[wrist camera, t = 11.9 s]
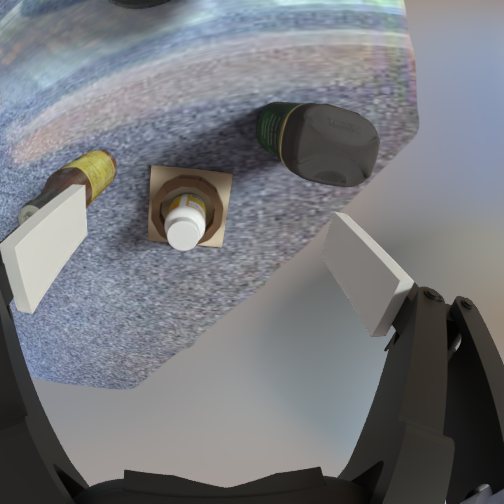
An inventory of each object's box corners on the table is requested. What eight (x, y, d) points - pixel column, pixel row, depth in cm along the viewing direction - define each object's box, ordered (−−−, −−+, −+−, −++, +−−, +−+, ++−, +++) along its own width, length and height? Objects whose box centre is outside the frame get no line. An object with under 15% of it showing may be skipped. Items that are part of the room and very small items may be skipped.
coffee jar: (252, 149, 40) (281, 183, 24) (261, 98, 37) (298, 93, 21) (313, 160, 42) (374, 199, 26) (323, 111, 38) (394, 122, 22)
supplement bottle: (173, 226, 43) (164, 258, 35) (168, 193, 41) (157, 218, 32) (207, 223, 44) (207, 254, 36) (204, 189, 41) (202, 213, 33)
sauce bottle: (94, 140, 36) (20, 174, 18) (126, 161, 38) (68, 209, 21) (75, 176, 38) (4, 229, 20) (105, 196, 40) (47, 261, 23)
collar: (152, 165, 39) (148, 169, 37) (232, 173, 42) (234, 178, 39) (148, 238, 45) (145, 246, 42) (221, 245, 47) (222, 254, 45)
